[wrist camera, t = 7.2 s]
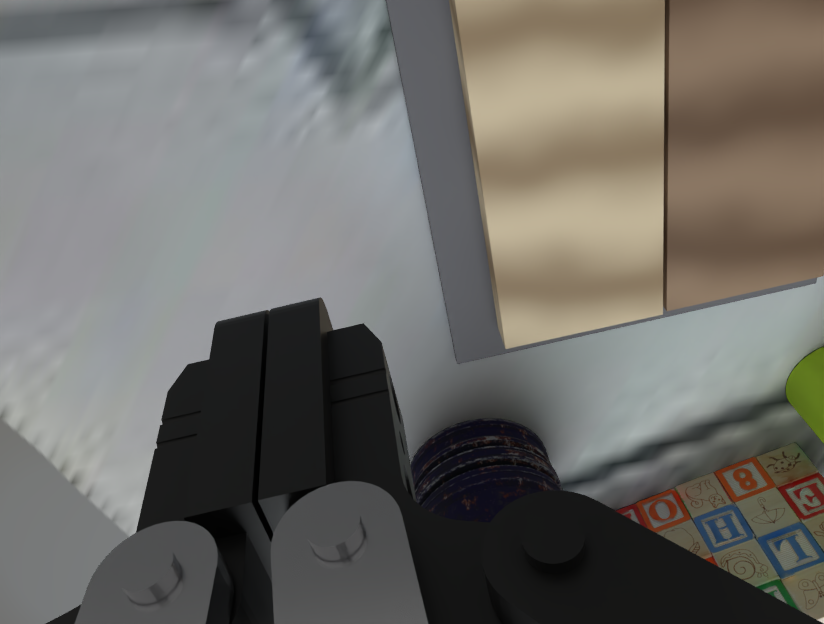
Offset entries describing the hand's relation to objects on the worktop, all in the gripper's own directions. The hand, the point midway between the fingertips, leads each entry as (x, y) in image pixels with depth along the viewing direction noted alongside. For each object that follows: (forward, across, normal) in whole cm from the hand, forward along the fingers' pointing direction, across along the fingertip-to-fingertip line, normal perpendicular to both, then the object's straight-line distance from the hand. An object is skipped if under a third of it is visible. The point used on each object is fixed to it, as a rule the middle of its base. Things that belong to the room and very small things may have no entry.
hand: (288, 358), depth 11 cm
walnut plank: (+27, -20, +9) cm, 35 cm away
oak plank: (+26, -11, +9) cm, 30 cm away
